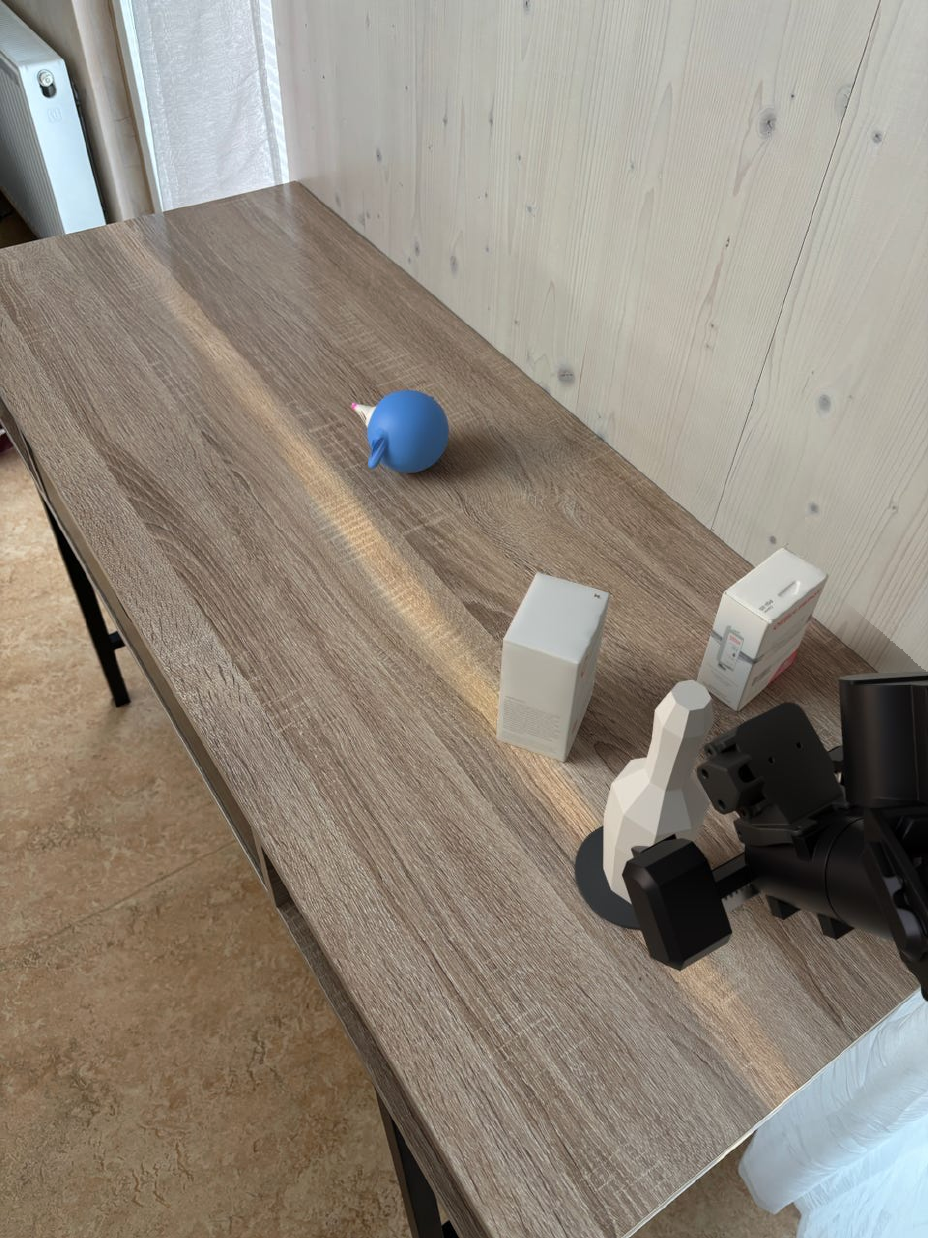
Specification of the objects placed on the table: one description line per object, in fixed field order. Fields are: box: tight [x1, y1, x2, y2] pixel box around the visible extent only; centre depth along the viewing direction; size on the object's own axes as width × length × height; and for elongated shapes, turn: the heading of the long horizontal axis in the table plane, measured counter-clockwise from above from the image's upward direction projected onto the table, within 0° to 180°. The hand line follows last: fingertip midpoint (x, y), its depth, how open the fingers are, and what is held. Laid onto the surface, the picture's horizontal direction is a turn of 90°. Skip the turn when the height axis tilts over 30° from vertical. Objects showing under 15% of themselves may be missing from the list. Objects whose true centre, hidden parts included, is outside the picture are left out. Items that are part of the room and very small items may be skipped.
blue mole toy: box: [350, 389, 450, 474], centre depth 108 cm, size 12×12×8 cm
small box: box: [495, 571, 611, 763], centre depth 82 cm, size 8×6×13 cm
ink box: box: [696, 547, 830, 712], centre depth 87 cm, size 9×5×12 cm, turn 133°
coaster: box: [574, 824, 641, 931], centre depth 77 cm, size 9×9×1 cm
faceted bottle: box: [603, 679, 715, 904], centre depth 69 cm, size 6×6×22 cm
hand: (691, 823), depth 66 cm, fingers open, 9 cm apart
